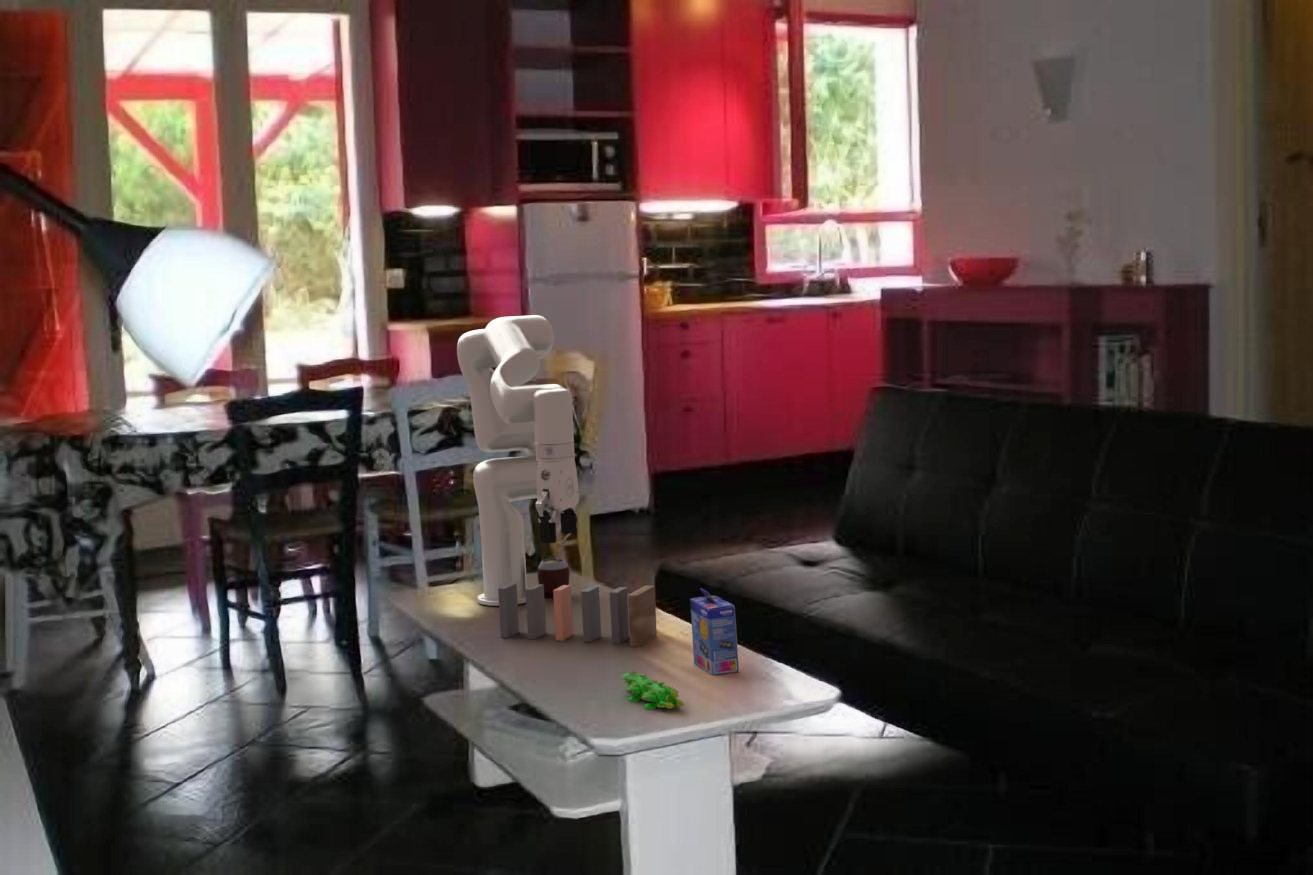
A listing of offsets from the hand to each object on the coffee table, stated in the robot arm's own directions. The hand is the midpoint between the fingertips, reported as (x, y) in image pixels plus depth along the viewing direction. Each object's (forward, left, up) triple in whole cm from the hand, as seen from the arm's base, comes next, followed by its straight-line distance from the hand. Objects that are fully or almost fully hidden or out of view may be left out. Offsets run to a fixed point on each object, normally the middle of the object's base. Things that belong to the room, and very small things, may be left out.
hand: (558, 537), depth 310 cm
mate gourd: (-40, -5, -20) cm, 45 cm away
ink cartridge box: (+28, +29, -20) cm, 45 cm away
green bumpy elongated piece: (+49, +18, -20) cm, 56 cm away
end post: (+6, +16, -20) cm, 26 cm away
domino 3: (0, 0, -20) cm, 20 cm away
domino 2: (-2, -5, -20) cm, 21 cm away
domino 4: (+2, +6, -20) cm, 21 cm away
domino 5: (+4, +11, -20) cm, 23 cm away
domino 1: (-4, -11, -20) cm, 23 cm away
